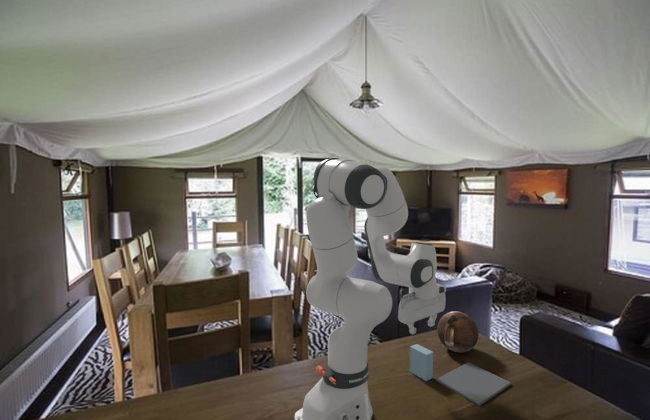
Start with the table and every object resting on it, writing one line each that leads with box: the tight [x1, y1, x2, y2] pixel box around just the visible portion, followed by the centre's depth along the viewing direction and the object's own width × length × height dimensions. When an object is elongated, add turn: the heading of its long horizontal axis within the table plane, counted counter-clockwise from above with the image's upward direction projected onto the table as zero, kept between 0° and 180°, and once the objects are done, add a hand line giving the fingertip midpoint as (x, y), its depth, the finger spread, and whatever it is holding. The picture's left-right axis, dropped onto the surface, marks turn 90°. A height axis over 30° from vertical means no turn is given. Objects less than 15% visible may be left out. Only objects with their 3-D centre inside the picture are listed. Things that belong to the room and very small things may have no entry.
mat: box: [435, 361, 512, 407], centre depth 108 cm, size 18×15×1 cm
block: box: [409, 343, 434, 382], centre depth 113 cm, size 4×7×9 cm, turn 34°
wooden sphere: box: [436, 311, 480, 353], centre depth 129 cm, size 15×15×15 cm
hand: (422, 329), depth 112 cm, fingers open, 8 cm apart
